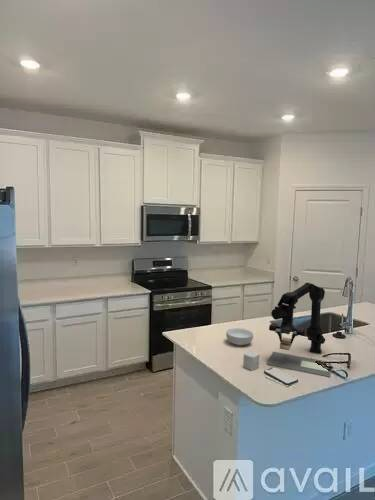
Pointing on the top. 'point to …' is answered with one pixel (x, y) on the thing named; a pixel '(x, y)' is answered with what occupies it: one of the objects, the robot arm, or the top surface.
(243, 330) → the cereal bowl
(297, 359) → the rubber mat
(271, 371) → the smartphone
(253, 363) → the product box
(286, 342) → the two-tone wooden plank
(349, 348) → the top surface
